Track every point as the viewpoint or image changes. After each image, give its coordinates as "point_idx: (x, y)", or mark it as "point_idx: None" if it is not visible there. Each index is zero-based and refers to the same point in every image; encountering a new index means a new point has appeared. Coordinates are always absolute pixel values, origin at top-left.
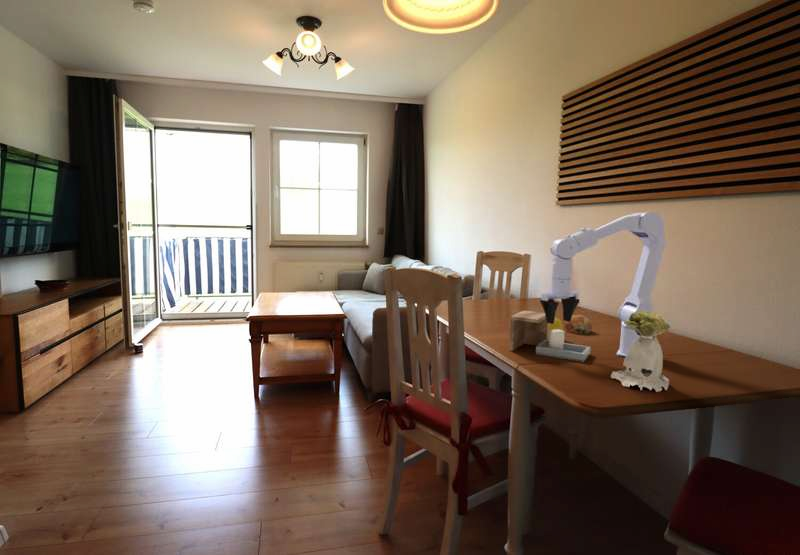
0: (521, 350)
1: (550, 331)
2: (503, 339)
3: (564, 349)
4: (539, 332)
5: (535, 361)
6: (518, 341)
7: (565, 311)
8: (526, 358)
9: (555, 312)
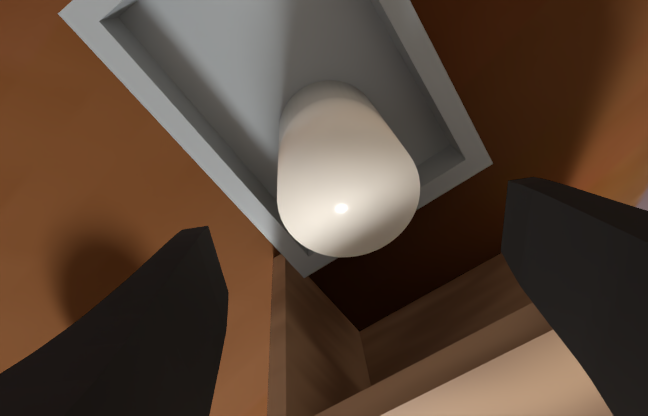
0: (481, 229)
1: (414, 206)
2: None
3: (236, 146)
4: (317, 341)
5: (614, 3)
6: (457, 305)
7: (196, 383)
8: (601, 83)
9: (640, 241)
